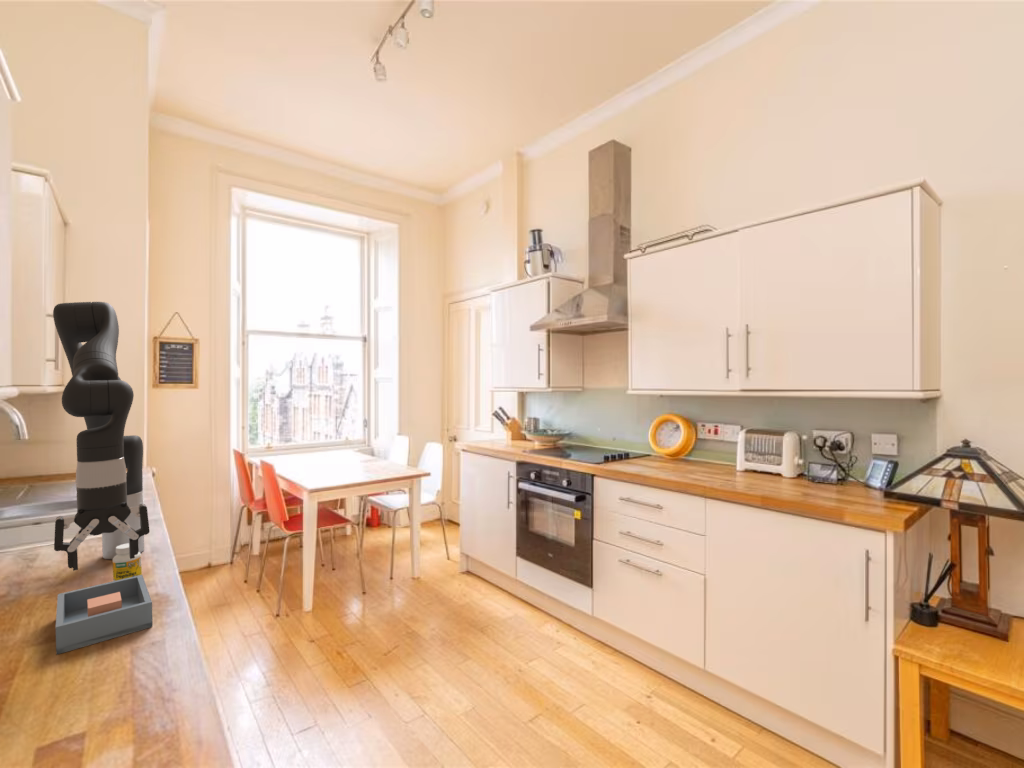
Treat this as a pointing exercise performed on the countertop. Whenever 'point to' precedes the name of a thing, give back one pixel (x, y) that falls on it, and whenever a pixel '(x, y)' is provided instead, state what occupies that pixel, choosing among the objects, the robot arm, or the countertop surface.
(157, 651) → the countertop surface
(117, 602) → the terracotta cube
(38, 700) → the countertop surface
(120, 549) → the supplement bottle
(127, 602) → the tote
